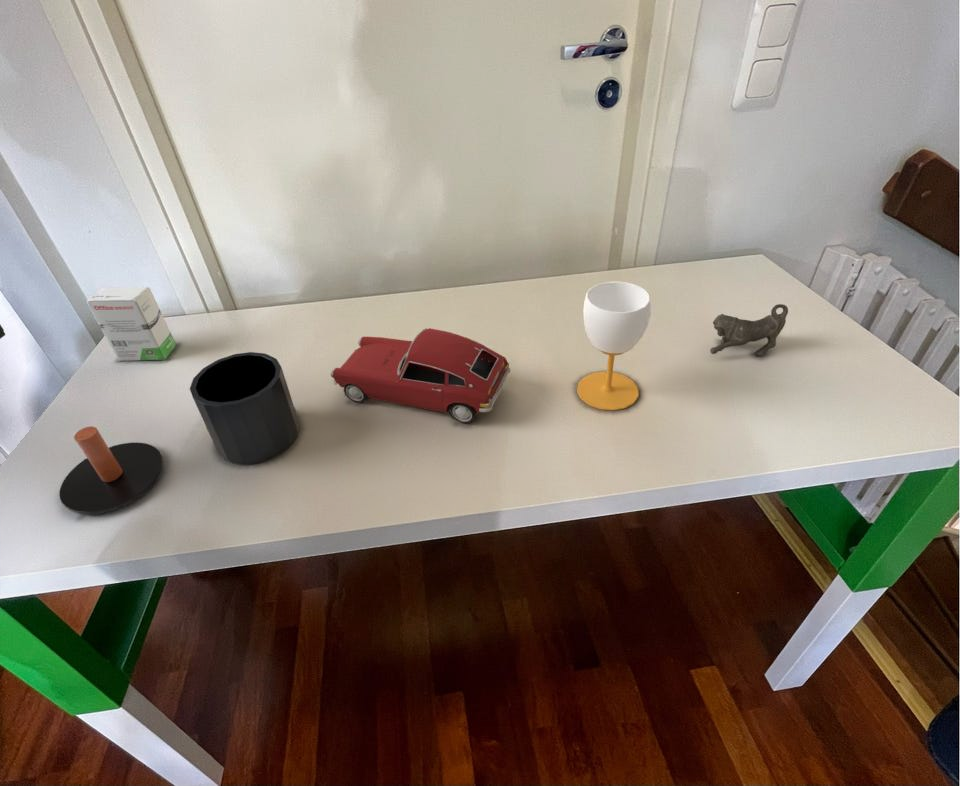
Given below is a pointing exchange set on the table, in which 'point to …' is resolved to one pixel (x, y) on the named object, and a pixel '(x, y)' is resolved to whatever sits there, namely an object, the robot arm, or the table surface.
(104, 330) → the ink box
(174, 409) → the table surface
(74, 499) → the lid
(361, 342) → the toy car
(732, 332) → the dog figurine
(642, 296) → the cup
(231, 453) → the canister
